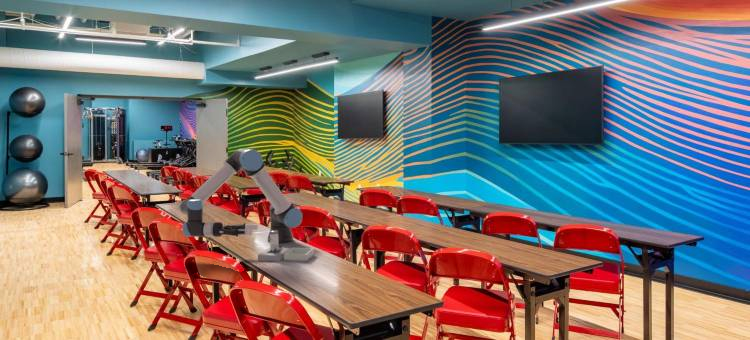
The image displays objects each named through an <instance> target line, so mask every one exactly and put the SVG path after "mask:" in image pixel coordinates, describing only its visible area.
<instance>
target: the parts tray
mask: <svg viewBox="0 0 750 340" xmlns="http://www.w3.org/2000/svg"><path fill="white" fill-rule="evenodd" d="M314 257H315V248H314V247H291V248H290V250H288V251H287V252H286V253H284V259H283V262H284V263H285V262H286V263H308V262H309V261H310V260H311V259H312V258H314Z"/></svg>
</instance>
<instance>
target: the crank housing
mask: <svg viewBox="0 0 750 340" xmlns="http://www.w3.org/2000/svg"><path fill="white" fill-rule="evenodd" d="M290 249H291V248H290V247H289V248H288V247H283V245H279V253H270V247H268V248H267V249H264V251H262V252H260V253H258V254H257V261H261V262H282V261H284V253H286V252H287V251H288V250H290Z"/></svg>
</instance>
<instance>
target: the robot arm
mask: <svg viewBox="0 0 750 340" xmlns="http://www.w3.org/2000/svg"><path fill="white" fill-rule="evenodd" d="M263 160H264V159H263V156H262V153H260V152H259V151H258V150H256V149H253V148H240V149H237V150H235V151H234V152H233V153H232V154H231V155H229V156H228V157H227V158H226V160H224V162H223V165H222V166H221V167H219V168H218V170H216V172H214V173H213V174H212V175H211V176H210V177H209V178H207V180H206V181H205V182H204V183H203V184H202V185H200V187H198V189H197V190H196V191H194V192H193V193H192V194H191V195H190V196H189V197H188V198H187V199H184V200H182V201H180V203H179V211H180V212H181V213H182V214H184V215H187V216H186V217H187V221H186V222H184V223H183V224H182V229H181V230H182V234H183V235H184V237H190V238H191V237H192V238H196V237H198V238H199V237H202V238H203V237H204V238H210V237H212V238H213V237H215V238H216V237H217V238H218V237H219V238H221V237H222V236H223V235H227V236H235V237H239V236H241V235H242V236H246V235H247V236H251V235H252V233H253V231H254V230H255V231H256V230H257V231H258V224H246V222H244V223H240V224H239V223H238V224H237V223H236V224H226V225H223V223H222V222H221V221H220V222H219V221H218V222H216V221H215V222H213V221H210V222H209V221H206V222H205V221H204V220H203V219H204V218H203V217H204V216H203V214H204V213H203V207H204V206H203V204H204V203H205V202H206V201H207V200H208V199H209V198H210V197H212V195H213V194H214V193H216V192H217V190H219V189H220V187H222V186H223V184H226V182H227V181H228V180H229V179H230V178H231V177H232V176H233V175H236V174H238V173H240V171H243V172H244V174H246V177H248V178H251V179H252V180H253V181H254V183H255V184H256V185H257V187H258V188H259V189H260V191H261V192H262V194H263V195H264V196H265V198H266V199H267V200H268V202H269V203H270V205H269V217H270V218H269V220H270V221H269V222H270V228H269V232H268V236H267V241H268V243H270V231H272V230H278V244H284V243H290V242H293V241H294V236H293V233H292V229H294V228H297V227H298V226H300V224H302V221H303V212H302V211H301V209H299V208H296V205H295V204H293V202H292V201H291V200H288V199H287V198H286V196H285V195H284V193H282V191H281V190H280V188H279V187H278V186H277V184H276V183H275V181H274V180H273V178H272V177H271V175H270V174H269V173H268V171H267V170H266V164H265V162H264V161H263Z"/></svg>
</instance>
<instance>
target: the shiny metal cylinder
mask: <svg viewBox="0 0 750 340" xmlns="http://www.w3.org/2000/svg"><path fill="white" fill-rule="evenodd" d="M269 232H270V242H269V248H270V253H279V246H280V245H279V244H280V243H278V230H272V231H270V230H269Z"/></svg>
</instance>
